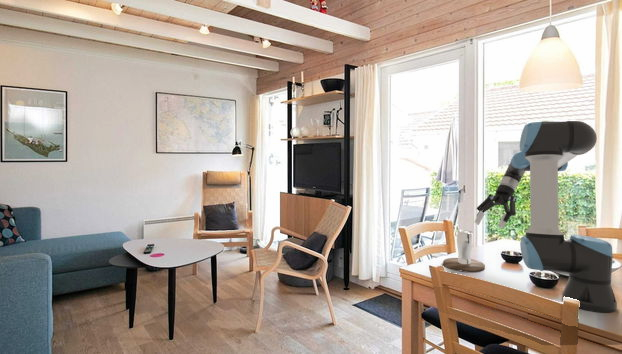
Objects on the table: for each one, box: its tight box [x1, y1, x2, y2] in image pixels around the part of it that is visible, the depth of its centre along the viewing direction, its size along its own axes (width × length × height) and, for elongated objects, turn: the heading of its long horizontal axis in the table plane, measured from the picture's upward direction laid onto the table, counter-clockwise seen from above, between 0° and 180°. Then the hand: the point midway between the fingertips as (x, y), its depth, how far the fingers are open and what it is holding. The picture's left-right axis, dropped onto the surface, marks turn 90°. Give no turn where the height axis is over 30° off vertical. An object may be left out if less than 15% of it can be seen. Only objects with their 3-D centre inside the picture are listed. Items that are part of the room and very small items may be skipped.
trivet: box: [442, 257, 486, 273], centre depth 171 cm, size 18×18×1 cm
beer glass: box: [456, 229, 474, 265], centre depth 170 cm, size 7×7×15 cm
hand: (487, 225), depth 173 cm, fingers open, 13 cm apart
